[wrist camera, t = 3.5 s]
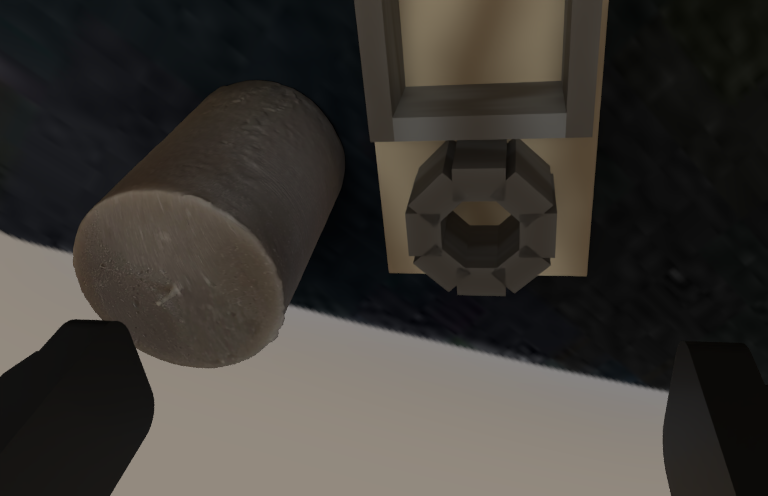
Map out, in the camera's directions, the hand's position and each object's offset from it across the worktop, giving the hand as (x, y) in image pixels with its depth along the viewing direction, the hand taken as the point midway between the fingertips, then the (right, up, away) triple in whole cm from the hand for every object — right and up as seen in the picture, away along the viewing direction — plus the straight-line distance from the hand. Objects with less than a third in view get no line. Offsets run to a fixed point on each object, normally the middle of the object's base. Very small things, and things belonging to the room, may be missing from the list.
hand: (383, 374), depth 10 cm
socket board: (+5, +11, +26) cm, 29 cm away
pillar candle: (-7, +7, +31) cm, 32 cm away
